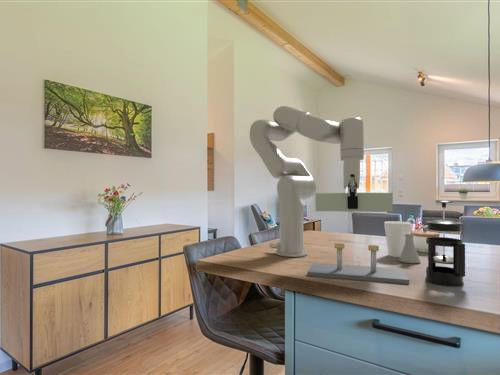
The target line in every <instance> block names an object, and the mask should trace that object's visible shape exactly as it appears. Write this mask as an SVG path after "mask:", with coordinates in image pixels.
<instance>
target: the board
mask: <svg viewBox="0 0 500 375" xmlns="http://www.w3.org/2000/svg"><path fill="white" fill-rule="evenodd" d="M367 248H368V251H370V265H369V266H368V265H367V266H366V265H365V266H364V265H353V264H352V265H351V264H343V250H344V249H345V243H334V249H336V263H323V262H313V263H312V264H311V265H310V267H309V269H308V270H307V277H318V278H329V279H330V278H331V279H343V280H353V281H354V280H356V281H363V282H364V281H367V282H378V283H387V284H388V283H391V284H401V283H402V284H403V285H410V279H409V277H408V275H407V273H406V271H405V269H404V268H399V267H398V268H397V267H381V266H377V252H378V251H379V250H380V246H379V245H376V244H368V246H367ZM402 284H401V285H402Z"/></svg>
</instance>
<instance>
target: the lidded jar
mask: <svg viewBox="0 0 500 375" xmlns="http://www.w3.org/2000/svg"><path fill="white" fill-rule="evenodd" d="M410 234H414V236H413V241H414V245H415V248H416V251H417V252H421V253H428V244H427V243H426V238H428V237H441V236H440V233H439V232H438V231H432V230H430V231H429V230H428V231H427V228H423V230H413V231H410ZM438 247H439V246H436V249H437V248H438Z"/></svg>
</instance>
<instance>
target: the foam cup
mask: <svg viewBox="0 0 500 375" xmlns="http://www.w3.org/2000/svg"><path fill="white" fill-rule="evenodd" d="M411 224H412V223H411V222H409V221H398V220H397V221H396V220H394V221H393V220H391V221H384V224H383V225H384V226H383V228H384V232H385V238H386V245H387V254H388V256H389V257H392V258H393V257H394V258H400V256H401V253H402V251H403V248H404V245H405V234H411V228H412V226H411Z"/></svg>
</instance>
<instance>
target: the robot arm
mask: <svg viewBox="0 0 500 375" xmlns="http://www.w3.org/2000/svg"><path fill="white" fill-rule="evenodd" d="M272 117H273V120H270V119H269V120H268V119H257V120H255V121H254V122H252V124H251V126H250V128H249V140H250V143H251V145H252V147H253V149H254V151H255V152H256V153H257V154H258V156H259V157H260V159H261V160H262V163H264V166H265V167H266V169H267V171H268V172H269V173H270V175H271V176H272V177H273V178H274V179H278V181H277V184H276V192H277V197H278V205H279V206H278V207H279V209H278V210H279V215H278V216H279V241H278V242H270V243H269V249H276V250H275V254H276V255H277V256H280V257H287V258H299V257H306V256H307V255H308V250H306V249H304V207H303V204H302V201H301V200H302V199H303V200H304V199H306V200H307V199H310V198H312V197H313V196H314V195H315V193H316V192H317V183H316V180H315V179H314V178H313V175H312V174H311V172H309V170H308V168H307V167H306V166H305V164H304V163H303V161H302V160H300V159H298V158H297V157H292V156H286V155H283V153H282V152H281V151H280V148H278V147H279V146H277V145H276V144H275V143H274V142H281V141H285V140H286V139H288V138H289V137H290V136H292V135H294V134H295V133H297V134H298V135H299V134H300V135H301V136H303V137H306V138H308V139H311V140H314V141H316V142H321V143H328V144H337V145H338V144H340V146H339V147H340V154H339V156H340V161H343V172H342V173H343V176H342V177H343V189H344V190H346V189H347V193H348V197H347V198H348V209H358V197H357V193H358V189H359V188H360V182H361V180H360V179H361V161H362V160H365V153H364V152H365V151H364V142H365V141H364V136H365V135H364V120H363V119H362V118H360V117H348V118H344V119H342V120H341V121H340V122H337V121H333V120H327V119H323V118H318V117H315V116H312V114H311V113H310V112H308V111H305V110H302V109H301V108H296V107H292V106H288V105H287V106H286V105H283V106H278V107H277V108H276V109H275V110H274V112H273V114H272ZM272 141H273V142H272Z"/></svg>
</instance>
